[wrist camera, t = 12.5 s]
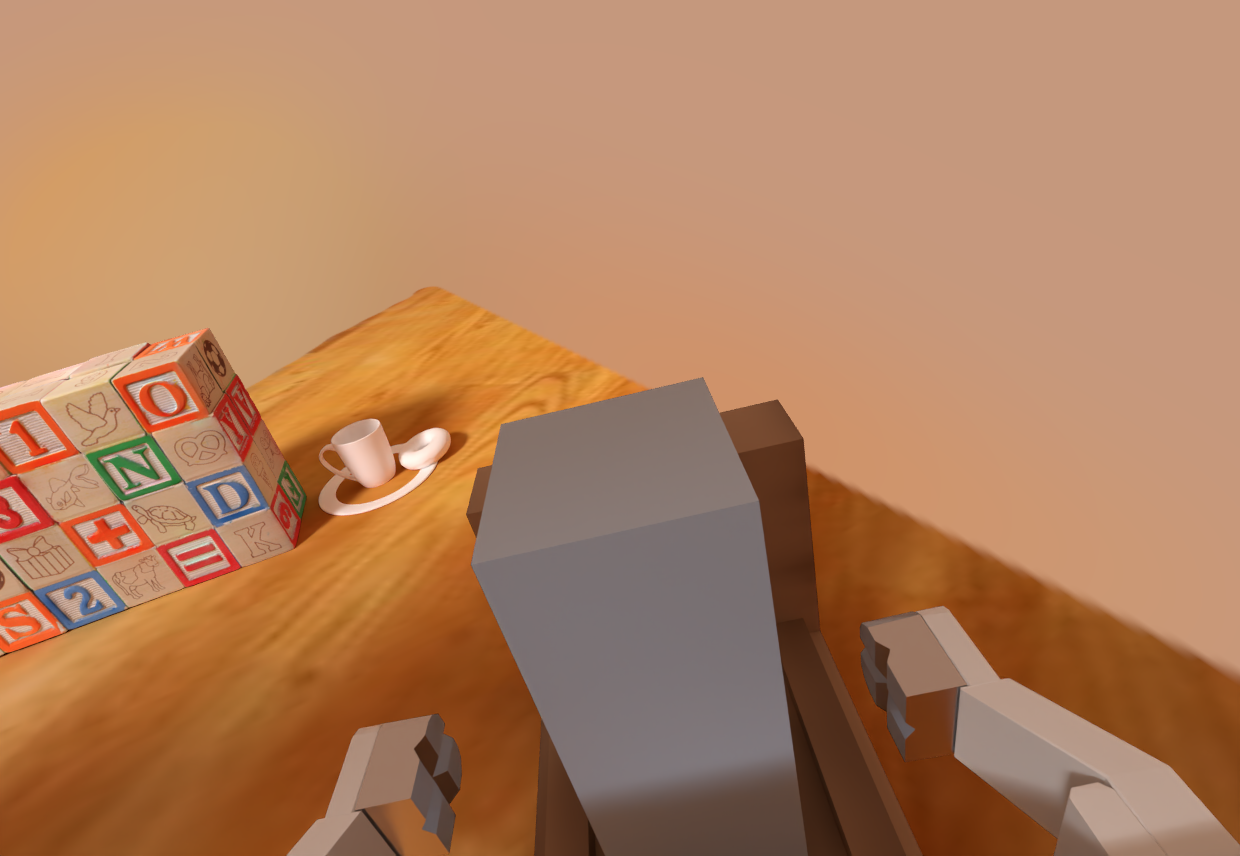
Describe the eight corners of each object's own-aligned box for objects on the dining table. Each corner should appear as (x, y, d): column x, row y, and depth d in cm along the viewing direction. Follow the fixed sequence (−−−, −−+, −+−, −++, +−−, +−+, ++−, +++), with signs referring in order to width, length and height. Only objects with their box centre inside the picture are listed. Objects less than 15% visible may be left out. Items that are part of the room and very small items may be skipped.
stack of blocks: (-126, 707, 31) (-370, 523, 25) (-51, 624, 36) (-237, 455, 30) (298, 547, 35) (175, 355, 29) (310, 493, 40) (208, 322, 34)
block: (633, 918, 15) (470, 565, 9) (621, 748, 19) (500, 424, 13) (812, 884, 15) (759, 500, 9) (762, 719, 19) (702, 377, 13)
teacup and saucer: (466, 439, 43) (445, 389, 41) (427, 510, 36) (400, 454, 34) (355, 457, 45) (330, 410, 43) (298, 528, 38) (265, 475, 36)
